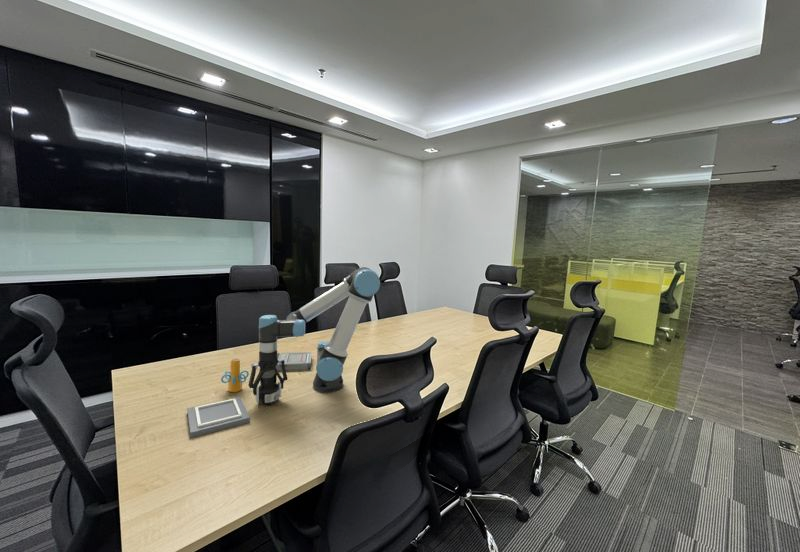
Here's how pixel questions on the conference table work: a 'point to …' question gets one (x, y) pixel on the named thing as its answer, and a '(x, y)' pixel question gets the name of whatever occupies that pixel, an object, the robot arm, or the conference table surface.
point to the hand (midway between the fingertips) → (268, 398)
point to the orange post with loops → (235, 376)
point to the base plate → (217, 416)
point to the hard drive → (295, 361)
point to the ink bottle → (268, 389)
